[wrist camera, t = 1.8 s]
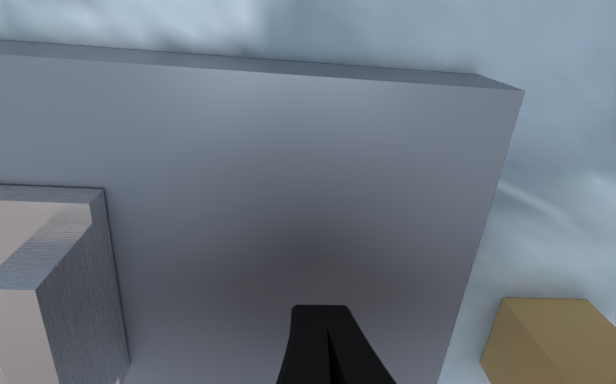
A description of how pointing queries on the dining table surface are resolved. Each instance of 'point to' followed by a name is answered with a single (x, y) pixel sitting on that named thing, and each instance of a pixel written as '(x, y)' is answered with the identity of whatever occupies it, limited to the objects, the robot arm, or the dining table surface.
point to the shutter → (58, 289)
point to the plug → (550, 343)
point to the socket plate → (264, 195)
